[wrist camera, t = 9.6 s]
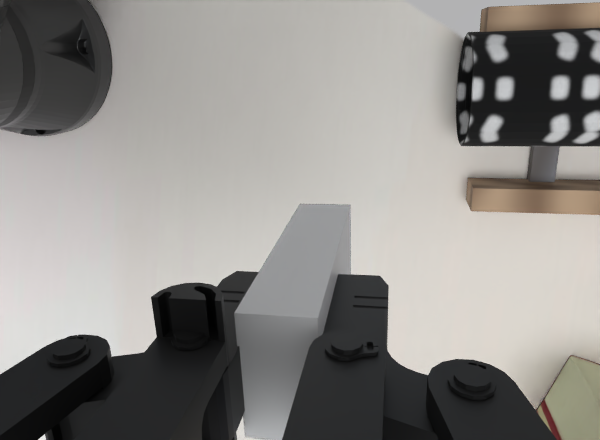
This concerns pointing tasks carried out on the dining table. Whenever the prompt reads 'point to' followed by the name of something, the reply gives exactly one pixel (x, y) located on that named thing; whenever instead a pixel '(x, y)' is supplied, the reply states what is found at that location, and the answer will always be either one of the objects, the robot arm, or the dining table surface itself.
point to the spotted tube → (529, 88)
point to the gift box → (574, 402)
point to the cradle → (543, 159)
